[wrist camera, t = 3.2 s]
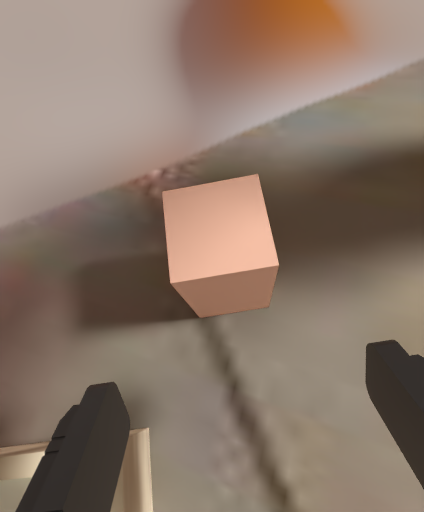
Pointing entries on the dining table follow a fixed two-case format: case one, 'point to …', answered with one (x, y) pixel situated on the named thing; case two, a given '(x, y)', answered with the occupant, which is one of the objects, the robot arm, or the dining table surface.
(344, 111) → the dining table surface
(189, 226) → the terracotta block
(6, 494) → the tower top block
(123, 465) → the tower base block
